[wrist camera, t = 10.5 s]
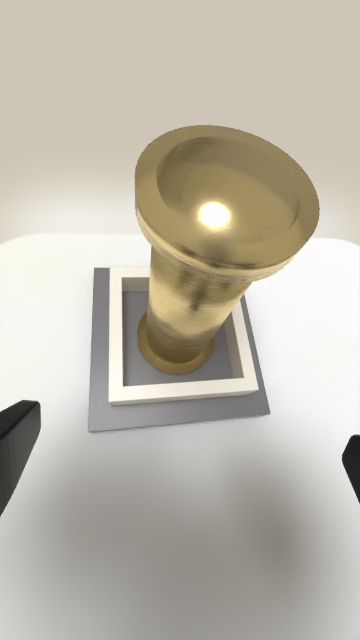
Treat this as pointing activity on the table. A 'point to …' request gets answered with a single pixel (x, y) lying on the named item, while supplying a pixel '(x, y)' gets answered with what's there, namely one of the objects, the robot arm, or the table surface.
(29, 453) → the robot arm
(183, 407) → the socket plate
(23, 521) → the table surface
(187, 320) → the brass fitting
